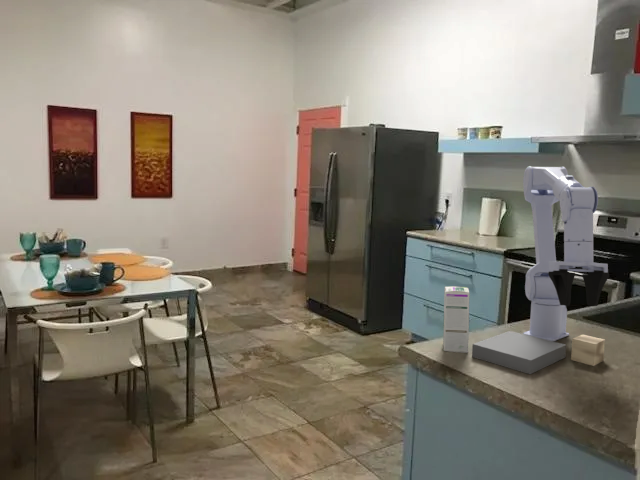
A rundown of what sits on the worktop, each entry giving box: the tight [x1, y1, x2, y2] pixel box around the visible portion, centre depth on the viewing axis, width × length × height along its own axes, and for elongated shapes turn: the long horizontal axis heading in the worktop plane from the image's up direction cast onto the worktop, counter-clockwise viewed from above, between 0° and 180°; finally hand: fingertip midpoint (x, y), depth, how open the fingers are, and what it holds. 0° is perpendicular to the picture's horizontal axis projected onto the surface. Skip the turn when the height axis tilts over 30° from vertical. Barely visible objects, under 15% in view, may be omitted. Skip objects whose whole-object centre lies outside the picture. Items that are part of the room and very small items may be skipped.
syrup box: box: [442, 285, 471, 354], centre depth 130 cm, size 6×6×14 cm
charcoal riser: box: [471, 330, 567, 375], centre depth 125 cm, size 16×14×3 cm
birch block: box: [570, 333, 606, 367], centre depth 124 cm, size 5×5×5 cm
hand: (578, 305), depth 118 cm, fingers open, 7 cm apart
